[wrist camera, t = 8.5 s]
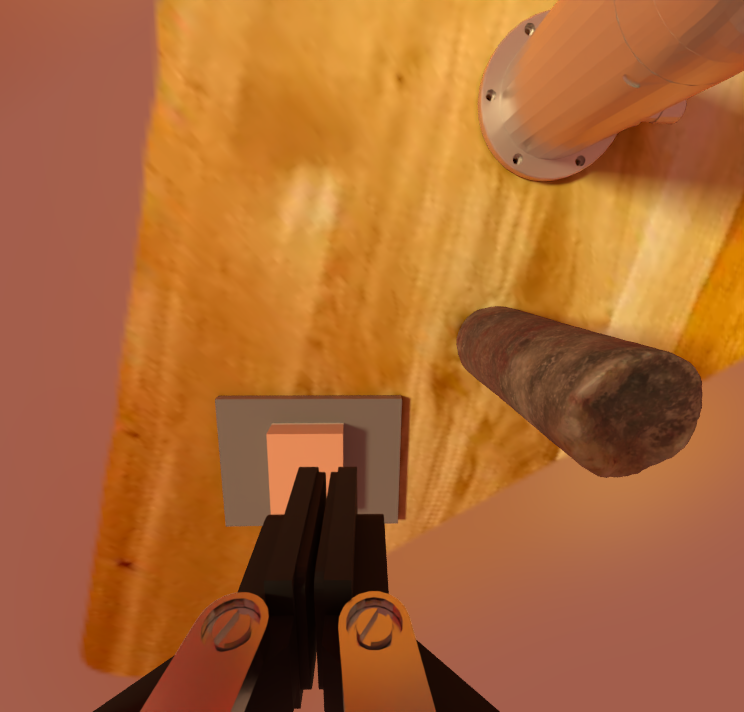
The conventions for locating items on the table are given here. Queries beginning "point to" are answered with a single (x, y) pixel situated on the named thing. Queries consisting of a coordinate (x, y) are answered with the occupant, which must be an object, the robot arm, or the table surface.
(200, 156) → the table surface
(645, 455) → the brown weathered post
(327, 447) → the tile
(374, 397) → the board
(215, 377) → the table surface
